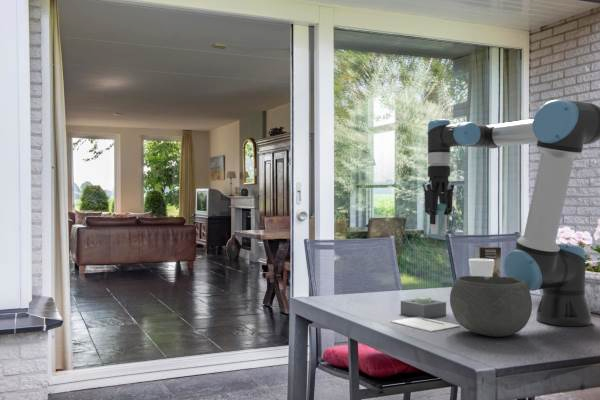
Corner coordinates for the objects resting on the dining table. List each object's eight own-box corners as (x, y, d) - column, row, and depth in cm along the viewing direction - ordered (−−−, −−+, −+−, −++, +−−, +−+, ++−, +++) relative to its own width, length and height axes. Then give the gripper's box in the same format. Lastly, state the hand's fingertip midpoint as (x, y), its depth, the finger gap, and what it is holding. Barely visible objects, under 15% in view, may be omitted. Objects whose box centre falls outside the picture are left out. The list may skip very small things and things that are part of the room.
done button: (434, 314, 193) (434, 298, 193) (423, 316, 190) (423, 300, 190) (422, 312, 197) (422, 296, 197) (411, 313, 194) (411, 298, 194)
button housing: (446, 314, 192) (446, 302, 192) (423, 318, 186) (423, 305, 186) (422, 310, 200) (422, 297, 200) (400, 313, 195) (400, 300, 194)
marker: (439, 243, 211) (448, 205, 208) (431, 244, 209) (441, 205, 205) (431, 239, 214) (440, 201, 211) (423, 240, 212) (433, 202, 208)
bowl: (454, 342, 156) (454, 283, 156) (446, 325, 177) (446, 273, 177) (540, 345, 154) (540, 285, 153) (521, 327, 174) (521, 274, 174)
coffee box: (479, 285, 255) (479, 247, 255) (474, 283, 262) (474, 246, 262) (501, 285, 256) (501, 247, 256) (495, 283, 262) (495, 246, 262)
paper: (460, 326, 175) (460, 325, 175) (431, 331, 168) (431, 330, 168) (419, 317, 188) (419, 316, 188) (390, 322, 181) (390, 320, 181)
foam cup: (463, 293, 235) (464, 259, 235) (476, 290, 241) (477, 258, 241) (486, 296, 228) (486, 261, 228) (498, 293, 234) (498, 259, 234)
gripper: (446, 166, 217) (446, 232, 217) (413, 165, 207) (413, 234, 207) (463, 165, 210) (463, 233, 211) (430, 164, 201) (430, 235, 201)
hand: (438, 233), depth 209 cm, fingers closed on marker, 3 cm apart
